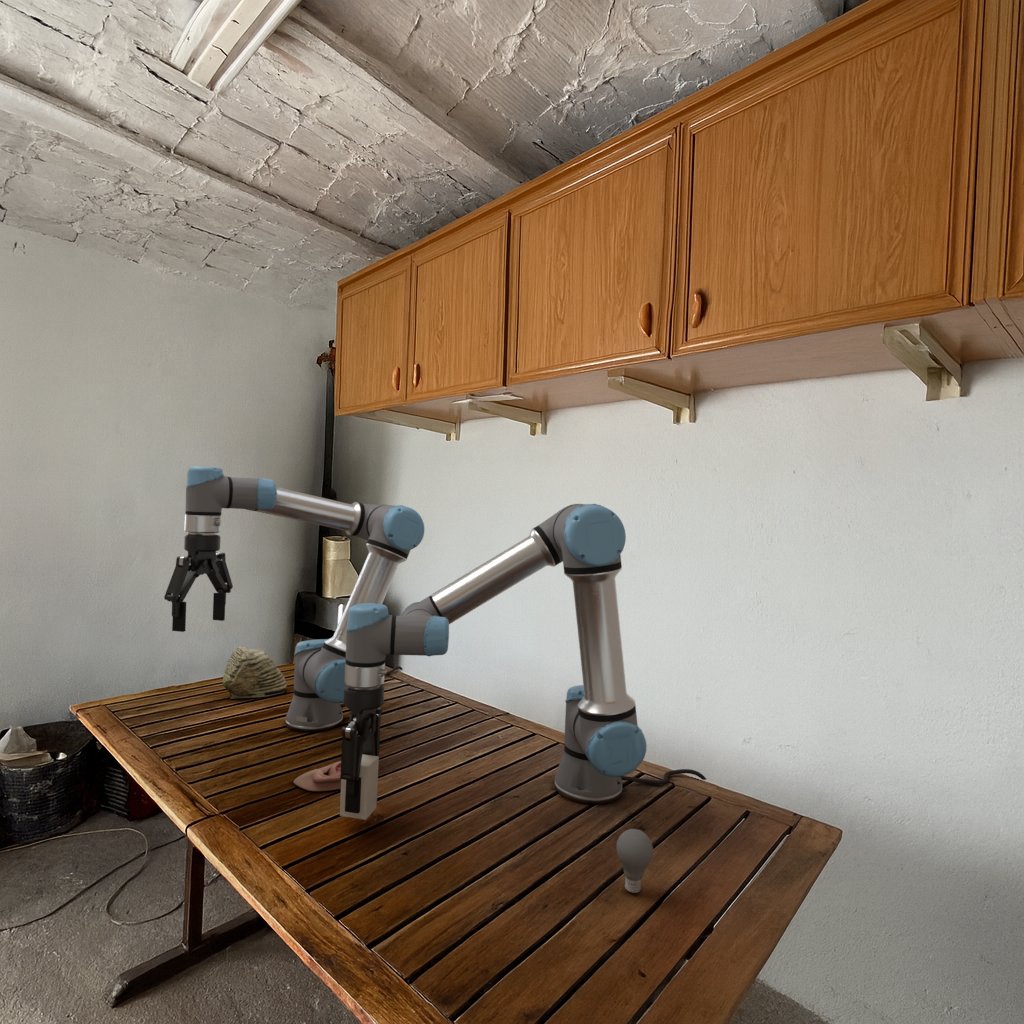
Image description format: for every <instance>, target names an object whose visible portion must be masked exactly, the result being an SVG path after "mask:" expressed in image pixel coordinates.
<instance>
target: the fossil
mask: <svg viewBox="0 0 1024 1024" xmlns="http://www.w3.org/2000/svg"><path fill="white" fill-rule="evenodd" d="M222 676H223V677H222V685H223V687H224V688H225V690H226V691H228V693H229V698H230V699H250V698H264V697H271V696H275V695H281V694H284V693H285V691H286V689H287V687H288V686H287V680H286V678H285V676H284V674H283V673H282V672H281V669H279V668H278V667H277V665H276V663H275V662H274V660H273V659H272V658H271V657H270V656H269V655H268V654H267V653H266V652H265V650H264V649H263V648H260V647H258V648H251V647H247V646H246V647H245V646H238V647H237V648H236V649H235V650H233V651H232V653H231V656H230V657H229V659H228V660H227V663H226V666H225V668H224V671H223V675H222Z"/></svg>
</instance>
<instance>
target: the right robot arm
mask: <svg viewBox="0 0 1024 1024" xmlns="http://www.w3.org/2000/svg"><path fill="white" fill-rule="evenodd" d="M626 535H627V534H626V529H625V526H624V524H623V521H622V520H621V519H620V516H618V515H617V514H616V513H615V512H614V511H613V510H611V509H610V508H608V507H606V506H604V505H601V504H597V503H573V504H569V505H567V506H565V507H562V508H561V509H560V510H558V511H557V512H555V513H554V514H553V515H551V516H550V517H548V518H547V519H546V520H544V521H543V522H541V523H539V524H538V525H536V526H534V527H533V528H531V529H530V532H529V535H528V536H526V537H525V538H523V539H522V540H521V541H520V540H519V542H517V543H515V544H513V545H512V546H510V547H508V548H507V549H505V550H504V551H502V552H500V553H499V554H496V555H494V557H492V558H490V559H489V560H487V561H485V562H483V563H482V564H480V565H479V566H476V567H475V568H473V569H472V570H470V571H469V572H467V573H465V574H464V575H462V576H460V577H458V578H457V579H455V580H453V581H452V582H450V583H448V584H447V585H445V586H443V587H442V588H439V590H437V591H435V592H433V593H432V594H431V595H429V596H427V597H425V598H423V599H421V600H420V601H415V602H413V603H411V604H409V605H407V606H406V608H405V609H404V610H403V612H402V613H401V615H393V614H389V610H388V609H389V608H388V606H387V605H386V604H383V603H382V604H375V603H361V604H356V605H353V606H352V607H351V608H350V609H349V612H348V622H347V629H346V631H347V632H346V662H345V677H344V683H345V684H346V686H345V687H344V702H343V703H344V706H343V707H345V708H347V709H348V710H349V711H350V714H349V719H348V724H347V726H342V728H341V730H340V732H341V754H340V761H341V774H340V778H341V779H344V780H346V796H345V812H351V813H359V812H360V797H361V777H359V774H360V767H361V760H362V754H364V755H372V756H379V757H380V747H381V746H380V745H381V742H380V741H381V721H382V713H383V708H382V706H383V704H384V701H385V700H384V698H385V686H384V683H385V676H386V675H385V674H386V673H387V672H388V671H387V669H386V657H387V655H388V656H422V657H423V656H426V657H433V656H443V655H446V654H447V652H448V650H449V641H450V640H449V639H450V625H451V624H453V623H454V622H456V621H457V620H459V619H461V618H462V617H464V616H465V615H467V614H469V613H471V612H472V611H474V610H476V609H477V608H479V607H480V606H482V605H484V604H486V603H487V602H489V601H491V600H492V599H494V598H495V597H497V596H499V595H501V594H502V593H505V592H506V591H507V590H509V589H510V588H512V587H515V586H516V585H517V584H519V583H520V582H522V581H524V580H526V579H527V578H529V577H530V576H533V575H534V574H535V573H537V572H539V571H540V570H542V569H544V568H545V567H548V566H549V567H552V568H554V567H556V566H557V565H559V564H561V563H562V565H563V574H564V576H566V577H567V578H569V579H570V581H571V582H572V586H573V587H572V588H573V589H572V590H573V600H574V607H575V609H574V610H575V617H576V618H575V619H576V627H577V637H578V648H579V656H580V667H581V672H582V673H581V676H582V684H581V685H574V686H571V687H569V688H568V689H567V691H566V699H565V700H564V702H565V715H564V716H565V718H564V737H563V739H564V740H563V741H564V742H563V743H564V745H563V753H562V756H561V759H560V761H559V764H558V766H557V770H556V772H555V776H554V783H553V784H554V785H553V787H554V789H555V791H556V792H557V793H558V794H559V795H560V796H561V797H564V798H566V799H568V800H571V801H574V802H577V803H581V804H587V805H601V804H608V803H612V802H615V801H616V800H617V801H618V799H620V797H621V796H622V794H623V781H627V782H633V783H639V784H648V785H654V786H661V785H662V786H663V785H665V784H667V783H668V781H669V777H670V776H675V775H680V774H681V775H682V774H690V775H694V776H696V777H698V778H699V779H700V780H703V781H706V780H707V778H706V776H705V775H704V774H703V773H701V772H700V771H698V770H694V769H690V768H681V769H673V770H669V771H666V772H665V773H664V774H663V779H658V780H657V779H656V780H655V779H649V778H648V779H647V778H640V777H635V776H627V775H630V774H631V773H633V772H634V771H636V770H637V769H638V767H639V766H640V765H641V764H642V763H643V761H644V759H645V757H646V754H647V740H646V737H645V734H644V732H643V730H642V729H641V728H640V726H639V725H638V717H637V715H638V714H637V705H636V700H635V699H634V697H632V696H631V695H630V694H628V692H627V683H626V674H625V661H624V653H623V644H622V633H621V632H622V631H621V624H620V623H621V621H620V612H619V603H618V593H617V591H618V590H617V583H616V577H617V575H619V574H620V572H621V571H622V570H623V566H622V556H621V554H622V552H623V551H624V548H625V546H626V542H627V541H626V540H627V537H626ZM384 675H385V676H384Z"/></svg>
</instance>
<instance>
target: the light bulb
mask: <svg viewBox="0 0 1024 1024" xmlns="http://www.w3.org/2000/svg"><path fill="white" fill-rule="evenodd" d="M615 849H616V854H617V857H618V859H619V861H620V863H621V865H622V867H623V873H624V874H623V875H624V876H625V878H624V888H625V890H627V891H628V892H630V893H634V894H635V893H639V892H640V891H641V889H642V887H641V886H642V879H643V877H644V875H645V871H646V868H647V867H648V866H649V864H650V863H651V861H652V859H653V855H654V847H653V843H652V841H651V838H649V836H648V835H647V834H646V833H645V832H643V831H642V830H641V829H636V828H629V829H627V830H625V831H623V832H622V833H621V834H620V835H619V837H618V839H617V841H616V847H615Z"/></svg>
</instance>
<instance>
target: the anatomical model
mask: <svg viewBox="0 0 1024 1024" xmlns="http://www.w3.org/2000/svg"><path fill="white" fill-rule="evenodd" d="M340 774H341V760H340V761H336V762H333V763H331V764H328V765H326V766H323V767H321V768H320V767H319V768H315V769H313V770H309V771H307V772H304V773H303V774H301V775H299V776H297V777H296V778H294V779H293V784H294V785H295V786H297V787H299V788H301V789H304V790H306V791H309V792H326V791H335V790H341V778H340Z"/></svg>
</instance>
